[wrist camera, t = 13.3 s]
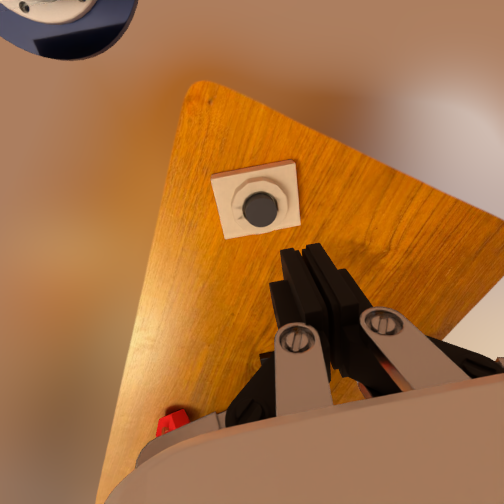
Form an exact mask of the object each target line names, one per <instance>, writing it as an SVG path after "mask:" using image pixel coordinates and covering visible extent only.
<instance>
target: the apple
mask: <svg viewBox="0 0 504 504" xmlns="http://www.w3.org/2000/svg"><path fill="white" fill-rule="evenodd" d="M188 423H191V422H190V420H189V417H188V416H187V414H186V412H185V410H184V409H181V410H179V411H176V412H174V413H171V414H169V415H166V416H164V417H162V418H161V419H159V422H158V427H157V432H156V437H159V436H161V435H163V434H166V433H168V432H170V431H172V430H175V429H177V428H179V427H182V426H184V425H186V424H188Z"/></svg>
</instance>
